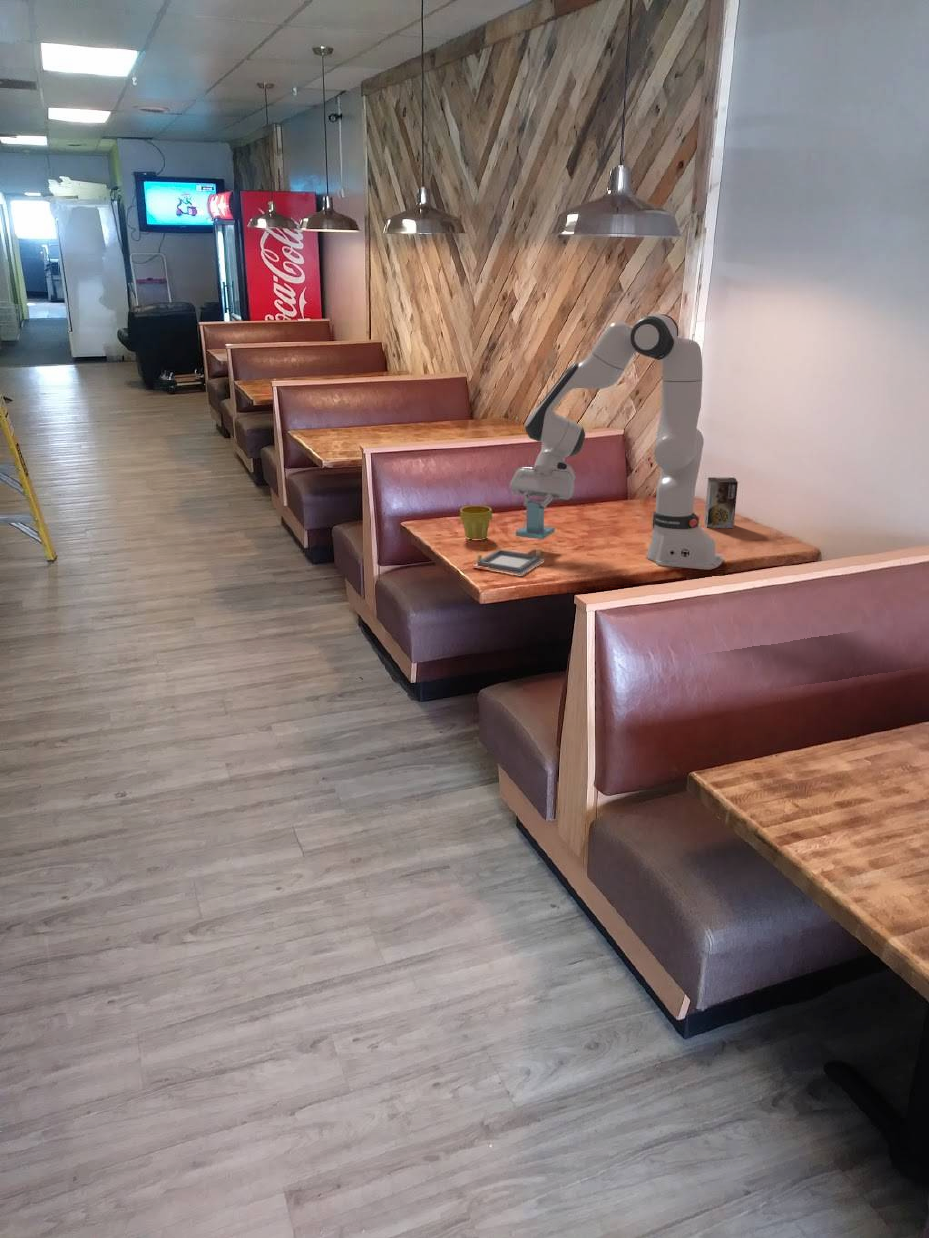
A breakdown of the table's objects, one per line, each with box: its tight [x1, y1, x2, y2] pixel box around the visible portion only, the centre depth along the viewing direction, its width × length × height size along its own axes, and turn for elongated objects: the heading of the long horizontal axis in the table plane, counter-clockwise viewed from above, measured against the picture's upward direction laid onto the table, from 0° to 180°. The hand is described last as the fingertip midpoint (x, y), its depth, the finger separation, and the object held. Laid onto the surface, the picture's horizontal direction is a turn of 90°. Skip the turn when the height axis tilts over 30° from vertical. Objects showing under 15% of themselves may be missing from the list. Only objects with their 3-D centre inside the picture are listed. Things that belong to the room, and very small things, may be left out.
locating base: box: [473, 548, 546, 576], centre depth 270 cm, size 16×16×4 cm
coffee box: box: [703, 477, 739, 529], centre depth 306 cm, size 9×6×16 cm
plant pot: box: [459, 505, 493, 539], centre depth 295 cm, size 10×10×10 cm
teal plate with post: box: [515, 500, 555, 540], centre depth 280 cm, size 9×9×10 cm
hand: (534, 506), depth 279 cm, fingers closed on teal plate with post, 4 cm apart
